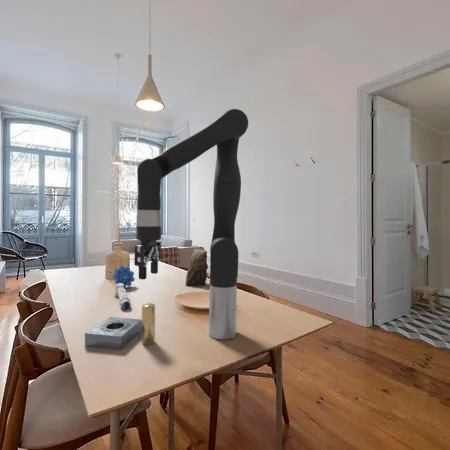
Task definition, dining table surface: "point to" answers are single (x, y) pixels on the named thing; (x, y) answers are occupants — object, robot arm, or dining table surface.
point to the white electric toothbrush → (122, 296)
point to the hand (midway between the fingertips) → (148, 276)
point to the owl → (197, 269)
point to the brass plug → (148, 324)
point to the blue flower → (123, 276)
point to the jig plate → (113, 333)
